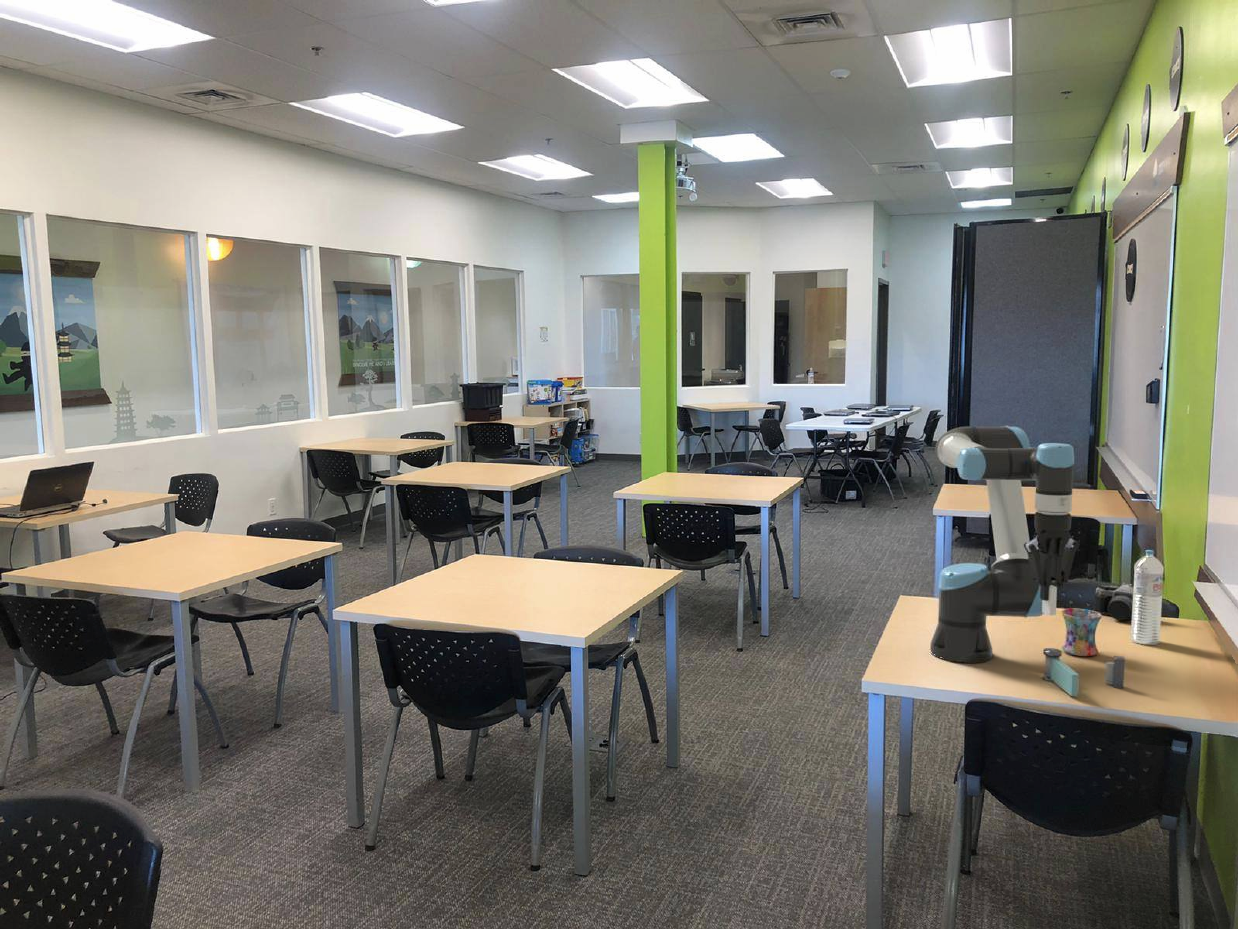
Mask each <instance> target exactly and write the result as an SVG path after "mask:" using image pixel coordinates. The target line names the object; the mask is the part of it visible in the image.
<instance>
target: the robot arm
mask: <svg viewBox="0 0 1238 929" xmlns="http://www.w3.org/2000/svg"><path fill="white" fill-rule="evenodd" d="M1030 445H1031V444H1030V441H1029V438H1028V435H1027V433H1026V432H1025V431H1024V429H1022V428H1020V427H1018V426H1008V425H1001V426H959V427H956V428H953V429H950V430H948V431H946V432H945V433H943V434H942V435H941V436H940V437H939V438H938V440H937V441H936V444H935V456H936V457H937V459H938V460H939V462H940V463H942V465H944V466H946V467H949V468H952V469H957V473H958V476H959V477H960V478H961V479H962V480H967V481H968V480H970V481H986V487H987V493H988V494H987V495H988V496H987V497H988V503H989V509H990V510H989V511H990V512H989V513H990V518H991V527H992V528H991V529H992V534H993V541H994V550H995V557H996V560H995V561H994V562H993V563H992V564H991V568H990V569H991V570H990V569H989V567H988V566H987V565H986V564H983V563H973V562H964V563H956V564H952V565H948V566H946V567H945V568H942V570H941V572H940V574H939V580H938V585H937V586H938V612H937V613H938V617H937V618H938V620H937V626H936V627H935V631H934V633H933V636H932V638H931V641H930V650H931V652H932V653H933V654H935V655H936V656H938V657H942V658H944V659H947V660H946V661H948V660H950V661H949V662H953V661H957V662H956V663H961V662H964V663H965V664H966V663H967V664H977V663H985V662H988V661H991V659H993V646H992V643H991V640H990V636H989V633H988V629H987V617H988V616H989V617H1017V618H1025V619H1026V618H1033V617H1035V618H1037V617H1038V618H1039V617H1041V616H1042V615H1044V614H1045V615H1047V616H1056V615H1057V600H1059V598H1060V588H1063V587H1064V584H1067V583H1068V581H1069V579H1070V575H1071V570H1072V566H1073V562H1074V559H1075V555H1076V552H1077V550H1078V548H1079V547H1080V542H1079V541H1077V540H1074V539H1073V538H1071V533H1070V530H1071V529H1072V528H1071V527H1072V514H1071V513H1070V512H1071V511H1072V509H1073V508H1072V507H1073V486H1074V470H1075V469H1074V467H1075V460H1076V459H1075V450H1074V446H1072V445H1071V444H1069V443H1059V442H1058V443H1057V442H1046V443H1041V444H1039V445H1038V446H1032V447H1031V446H1030ZM1022 481H1035V496H1034V497H1035V498H1034V499H1035V500H1034V509H1035V512H1034V520H1033V521H1034V524H1033V525H1034V529H1035V533H1034V535H1033V539H1032V540H1030V534H1029V527H1028V521H1027V515H1026V507H1025V500H1024V494H1023V488H1022ZM930 650H929V651H930ZM931 652H930V653H931ZM932 653H931V654H932ZM933 654H932V655H933ZM936 656H935V657H936ZM938 657H937V658H938ZM944 659H943V660H944Z"/></svg>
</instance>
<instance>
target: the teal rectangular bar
mask: <svg viewBox="0 0 1238 929" xmlns="http://www.w3.org/2000/svg"><path fill="white" fill-rule="evenodd" d="M1044 656H1045V658H1044V659H1045V660H1044V661H1045V662H1044V675H1045V676H1047V677H1050V678H1051V679H1052V680H1053V681H1054V682H1053V683H1055V684H1056V685H1057V686H1059V687H1060V688H1061V689H1062V690H1063V691H1064V692H1066V693H1067V694H1068V696H1070V697H1079V687H1080V686H1079V685H1080V684H1079V682H1080V675H1079V673H1077V672H1076V671H1075V670H1074V669H1073V668H1071V667H1070V666H1069V665H1067V664H1066V663H1065V662H1063V661H1062V660H1061V659H1060V657H1050V656H1046V655H1044Z"/></svg>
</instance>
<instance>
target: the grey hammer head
mask: <svg viewBox="0 0 1238 929" xmlns="http://www.w3.org/2000/svg"><path fill="white" fill-rule="evenodd" d="M1042 653H1043V655H1044V656H1045V655H1046V656H1050V657H1059V658H1060V657H1062V655H1063V651H1062V650H1060V649H1058V648H1053V647H1051V648H1050V647H1048V648H1043V652H1042ZM1042 680H1044V681H1046V682H1051V683H1055V682H1054V681H1053V680H1052V679H1051V678H1050V677H1047V676H1045V674H1043V675H1042Z"/></svg>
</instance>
